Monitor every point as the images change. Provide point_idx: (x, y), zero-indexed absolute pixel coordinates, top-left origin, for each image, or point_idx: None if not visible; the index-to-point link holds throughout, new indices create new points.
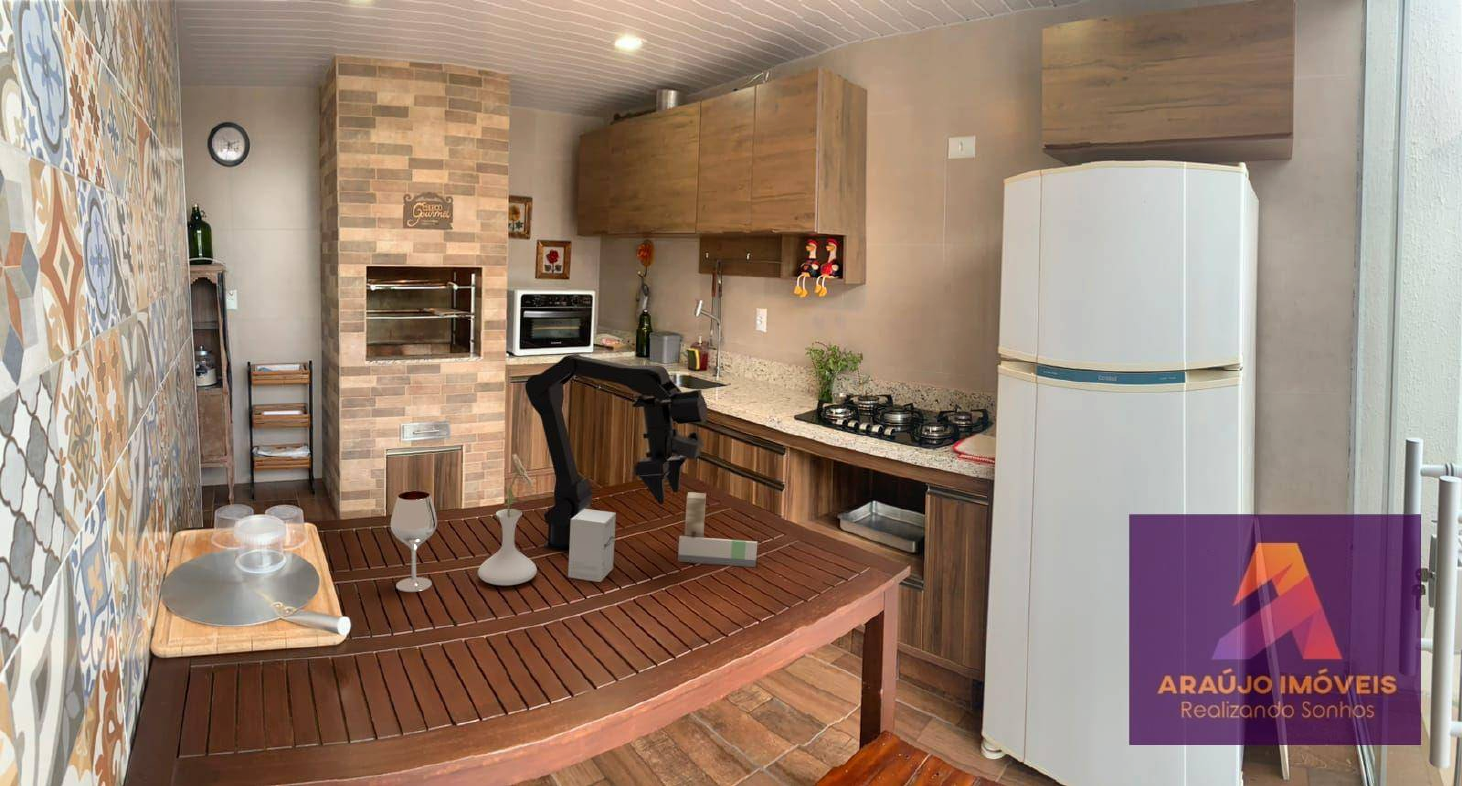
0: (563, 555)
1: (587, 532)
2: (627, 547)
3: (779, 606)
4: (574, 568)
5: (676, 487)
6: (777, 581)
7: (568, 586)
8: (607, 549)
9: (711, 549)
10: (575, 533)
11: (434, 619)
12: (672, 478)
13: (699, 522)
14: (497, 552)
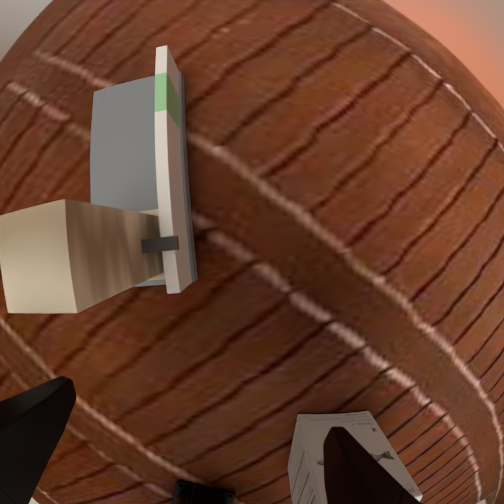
0: (247, 493)
1: None
2: (153, 408)
3: (378, 40)
4: None
5: (59, 399)
6: (257, 33)
7: None
8: (365, 448)
9: (177, 180)
10: None
11: (462, 490)
12: (34, 449)
13: (124, 227)
14: None
